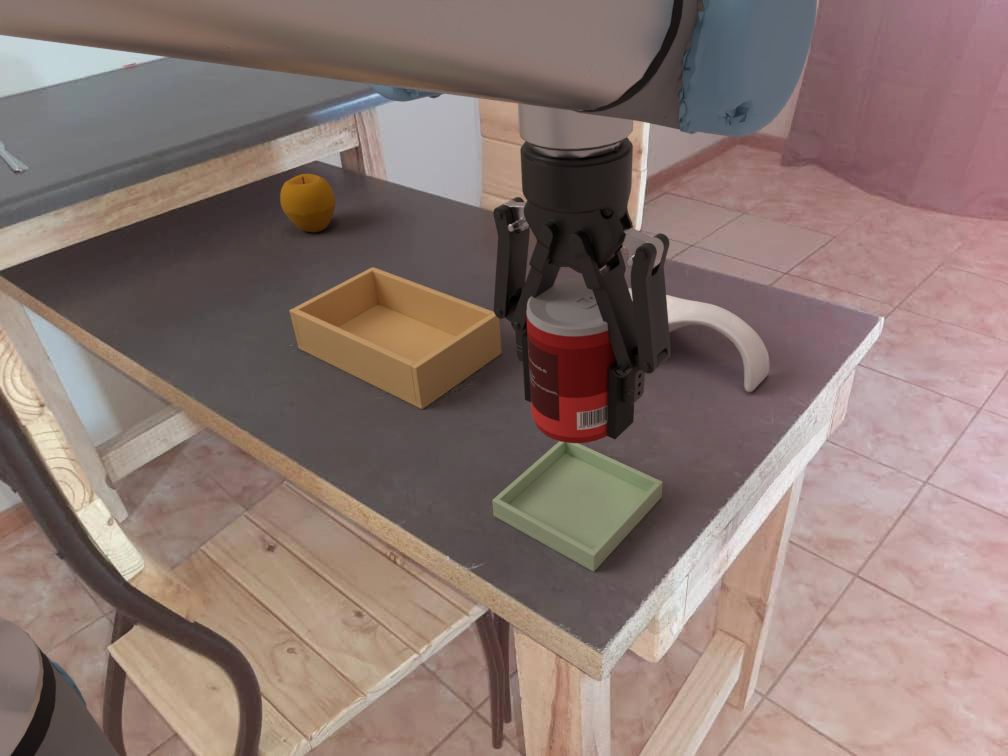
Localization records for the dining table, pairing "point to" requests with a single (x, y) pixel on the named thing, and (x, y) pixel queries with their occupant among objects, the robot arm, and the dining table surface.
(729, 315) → the spoon rest
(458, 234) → the dining table surface
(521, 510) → the tray
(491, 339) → the open wooden box
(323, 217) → the apple
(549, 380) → the canned food
